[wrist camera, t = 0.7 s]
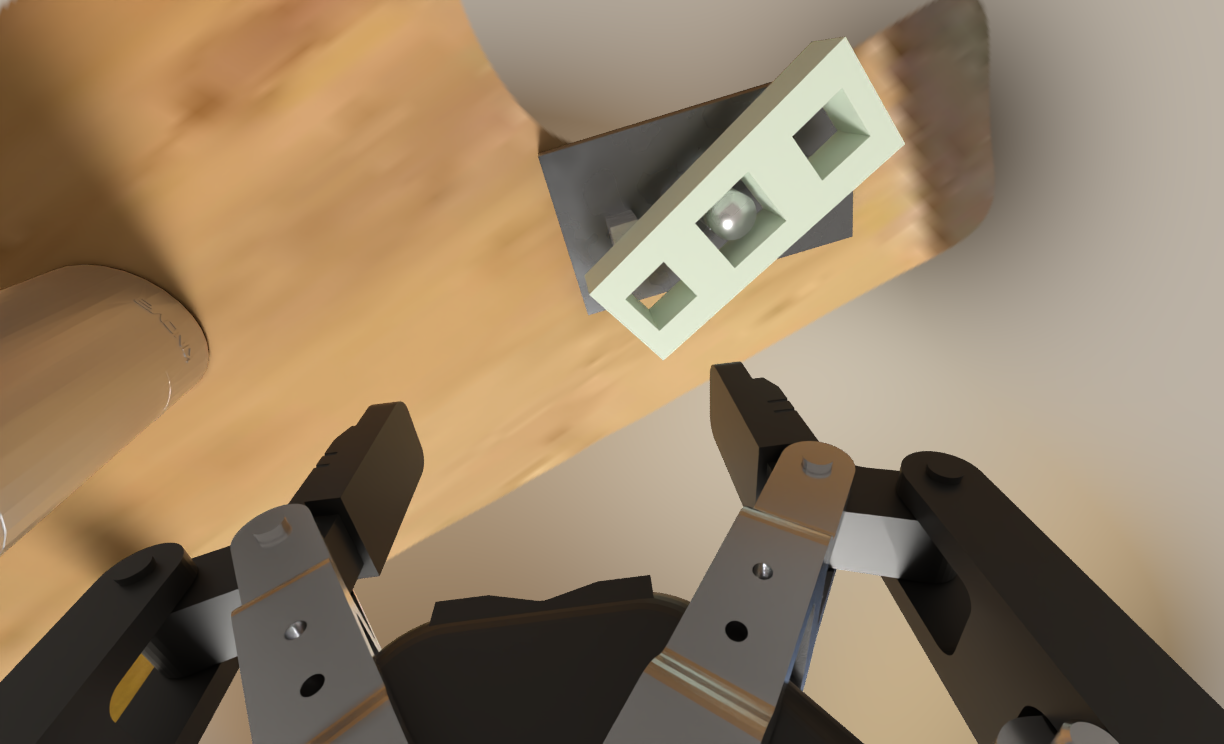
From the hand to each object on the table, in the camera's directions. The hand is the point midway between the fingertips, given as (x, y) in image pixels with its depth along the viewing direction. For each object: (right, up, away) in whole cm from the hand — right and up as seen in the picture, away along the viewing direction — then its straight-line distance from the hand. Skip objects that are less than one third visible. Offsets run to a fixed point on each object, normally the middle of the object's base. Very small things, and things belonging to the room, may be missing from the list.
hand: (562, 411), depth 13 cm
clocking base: (+7, +12, +18) cm, 23 cm away
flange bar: (+7, +10, +14) cm, 19 cm away
